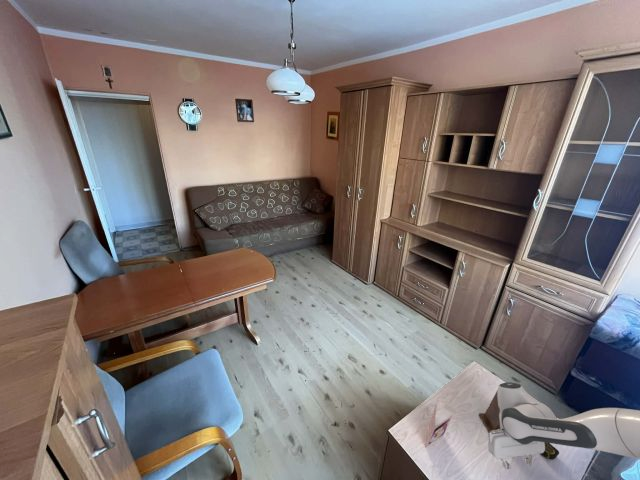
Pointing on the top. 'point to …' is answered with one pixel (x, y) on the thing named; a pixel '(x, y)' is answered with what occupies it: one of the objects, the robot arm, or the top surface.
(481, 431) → the top surface
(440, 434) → the greeting card
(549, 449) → the tape measure
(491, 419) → the pedestal
